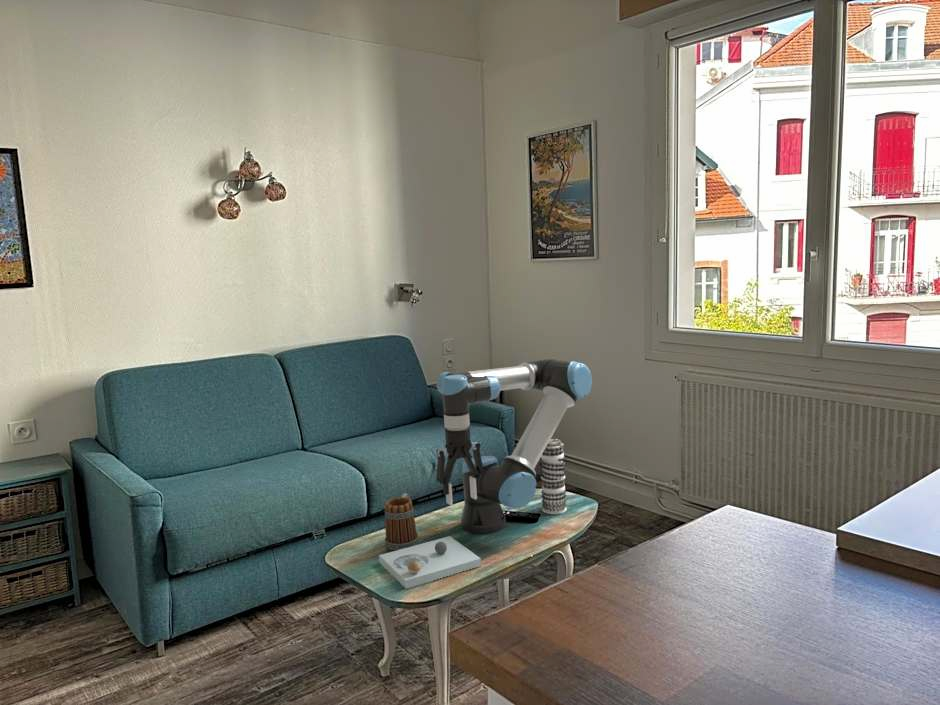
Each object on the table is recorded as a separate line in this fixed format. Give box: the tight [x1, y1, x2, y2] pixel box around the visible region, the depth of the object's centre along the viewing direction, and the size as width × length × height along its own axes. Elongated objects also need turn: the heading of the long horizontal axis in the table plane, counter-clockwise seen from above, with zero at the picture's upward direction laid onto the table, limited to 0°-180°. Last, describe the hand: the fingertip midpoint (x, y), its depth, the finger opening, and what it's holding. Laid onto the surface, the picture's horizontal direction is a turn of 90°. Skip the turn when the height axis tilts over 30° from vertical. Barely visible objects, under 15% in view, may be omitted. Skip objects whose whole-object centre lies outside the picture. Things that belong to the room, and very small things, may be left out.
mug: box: [384, 493, 419, 552], centre depth 230 cm, size 16×11×15 cm
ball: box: [435, 542, 447, 554], centre depth 216 cm, size 4×4×4 cm
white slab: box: [378, 535, 482, 590], centre depth 215 cm, size 24×20×2 cm
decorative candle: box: [538, 438, 568, 515], centre depth 251 cm, size 9×9×25 cm
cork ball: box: [408, 560, 420, 574], centre depth 204 cm, size 4×4×4 cm
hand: (461, 500), depth 218 cm, fingers open, 8 cm apart
